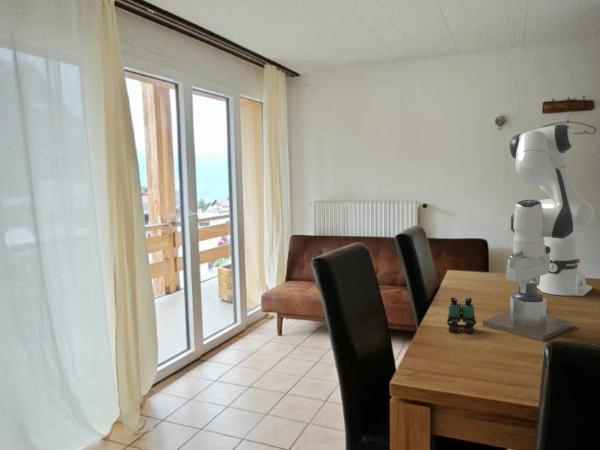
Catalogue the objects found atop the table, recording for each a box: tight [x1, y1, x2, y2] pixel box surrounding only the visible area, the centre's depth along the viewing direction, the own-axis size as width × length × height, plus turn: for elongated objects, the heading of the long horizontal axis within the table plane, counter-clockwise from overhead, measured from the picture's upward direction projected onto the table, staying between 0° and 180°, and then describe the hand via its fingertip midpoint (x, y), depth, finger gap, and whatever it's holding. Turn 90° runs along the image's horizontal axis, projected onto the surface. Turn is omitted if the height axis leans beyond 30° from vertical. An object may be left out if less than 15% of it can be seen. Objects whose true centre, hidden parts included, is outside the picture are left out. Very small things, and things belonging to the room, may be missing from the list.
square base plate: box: [482, 294, 576, 342], centre depth 148 cm, size 20×20×10 cm
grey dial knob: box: [512, 281, 544, 302], centre depth 147 cm, size 9×9×7 cm
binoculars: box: [446, 297, 477, 335], centre depth 146 cm, size 9×11×10 cm
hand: (528, 291), depth 147 cm, fingers open, 3 cm apart
